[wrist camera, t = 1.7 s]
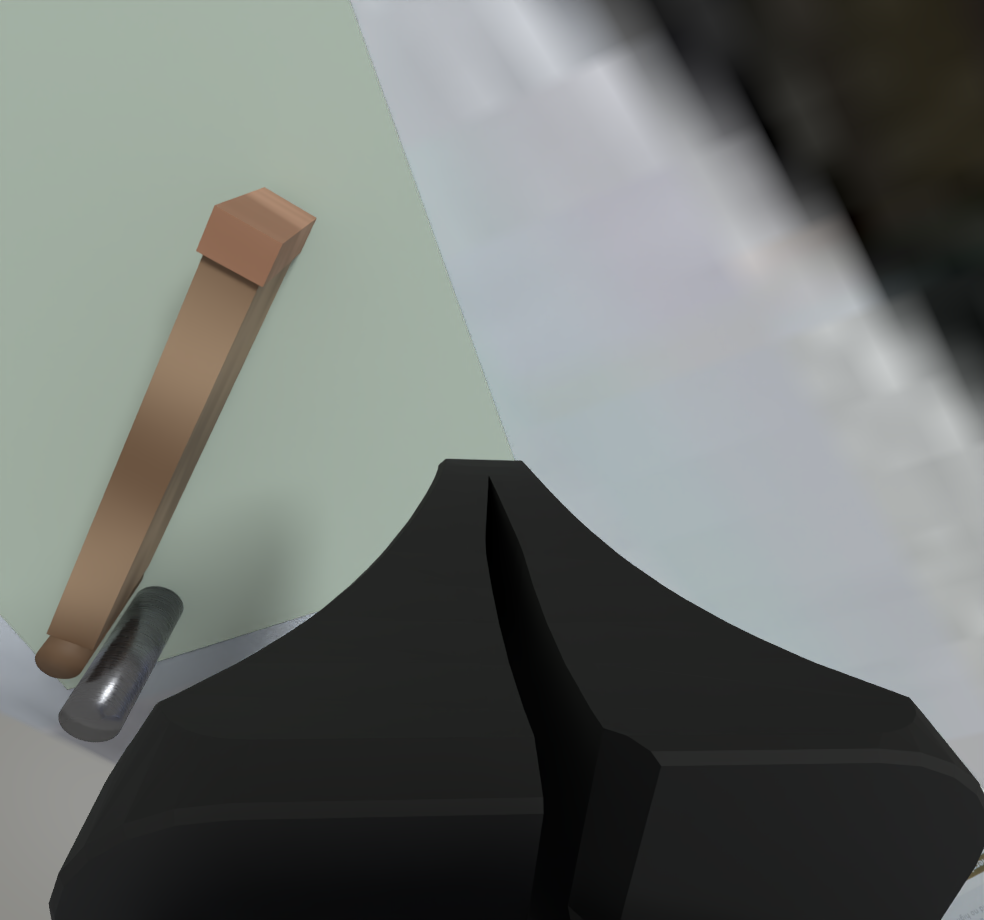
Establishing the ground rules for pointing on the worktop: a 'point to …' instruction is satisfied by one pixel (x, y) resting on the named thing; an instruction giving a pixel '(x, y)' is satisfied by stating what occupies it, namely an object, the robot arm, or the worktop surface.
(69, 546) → the gate mat
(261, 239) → the wooden block
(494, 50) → the worktop surface
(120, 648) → the dark gray metal cylinder
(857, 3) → the worktop surface
